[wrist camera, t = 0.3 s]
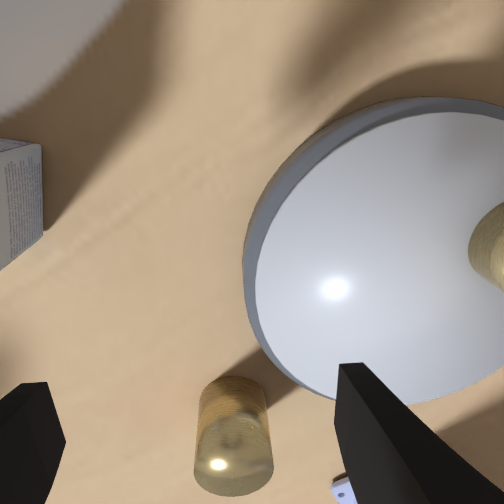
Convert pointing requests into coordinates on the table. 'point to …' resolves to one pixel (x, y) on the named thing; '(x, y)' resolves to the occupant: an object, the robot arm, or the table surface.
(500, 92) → the table surface
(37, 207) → the medicine box
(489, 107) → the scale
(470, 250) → the spacer
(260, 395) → the cylinder
